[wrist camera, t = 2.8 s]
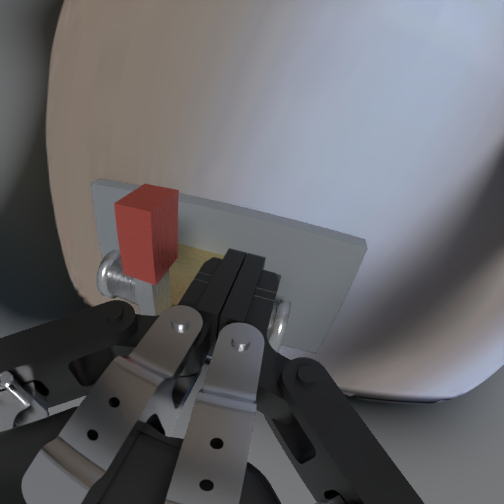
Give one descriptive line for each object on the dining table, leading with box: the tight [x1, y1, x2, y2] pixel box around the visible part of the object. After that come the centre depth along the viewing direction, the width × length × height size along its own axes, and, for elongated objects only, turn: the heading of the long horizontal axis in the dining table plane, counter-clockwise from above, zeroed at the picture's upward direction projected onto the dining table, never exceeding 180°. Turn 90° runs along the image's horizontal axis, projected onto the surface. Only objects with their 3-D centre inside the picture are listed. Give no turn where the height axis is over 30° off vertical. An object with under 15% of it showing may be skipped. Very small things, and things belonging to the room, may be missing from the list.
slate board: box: [91, 179, 367, 353], centre depth 28 cm, size 28×15×2 cm, turn 82°
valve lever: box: [114, 184, 179, 316], centre depth 16 cm, size 14×3×3 cm, turn 172°
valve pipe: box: [97, 243, 291, 353], centre depth 24 cm, size 18×6×8 cm, turn 82°
